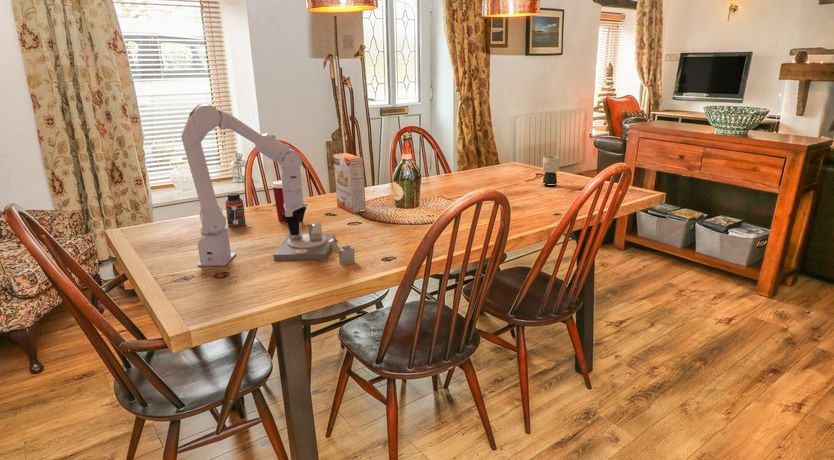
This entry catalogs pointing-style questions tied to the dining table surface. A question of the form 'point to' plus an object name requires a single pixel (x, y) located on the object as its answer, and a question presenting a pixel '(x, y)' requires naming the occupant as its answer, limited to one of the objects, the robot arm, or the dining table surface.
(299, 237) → the spacer
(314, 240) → the cylinder
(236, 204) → the supplement bottle
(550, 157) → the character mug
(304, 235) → the kitchen scale
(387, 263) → the dining table surface
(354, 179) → the cracker box
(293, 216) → the robot arm
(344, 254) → the lighter
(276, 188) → the paper cup
